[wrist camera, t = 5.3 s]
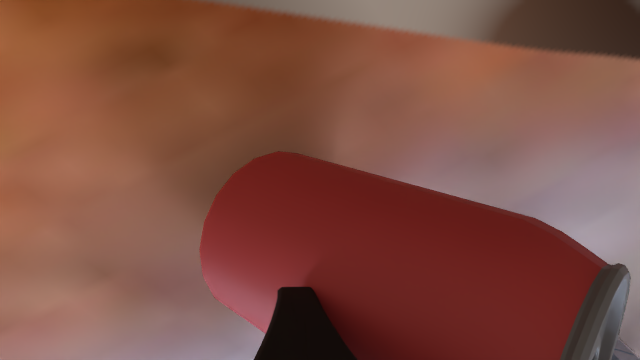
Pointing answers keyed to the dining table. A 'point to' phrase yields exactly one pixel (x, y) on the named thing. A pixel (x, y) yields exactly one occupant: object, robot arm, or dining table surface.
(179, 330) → the dining table surface
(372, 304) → the beer can
